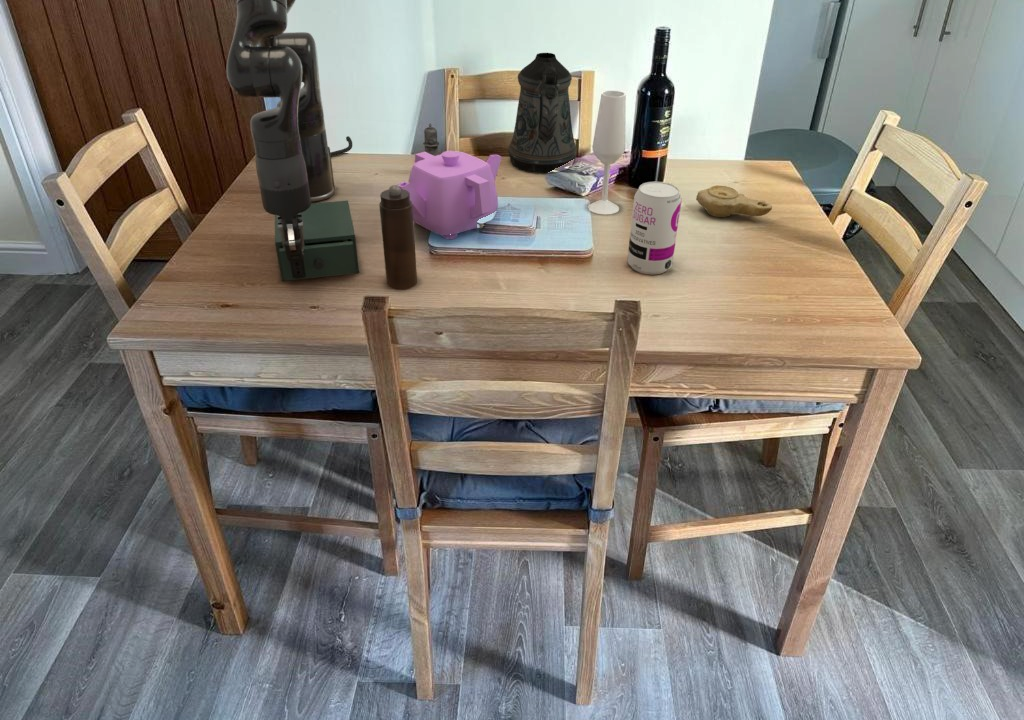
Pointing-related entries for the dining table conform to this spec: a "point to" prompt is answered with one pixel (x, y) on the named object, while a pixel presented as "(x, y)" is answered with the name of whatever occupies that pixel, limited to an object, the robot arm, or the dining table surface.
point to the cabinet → (323, 226)
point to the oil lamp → (730, 202)
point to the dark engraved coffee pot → (543, 117)
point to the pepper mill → (398, 238)
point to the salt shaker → (431, 140)
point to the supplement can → (654, 227)
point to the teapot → (452, 191)
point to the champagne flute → (609, 142)
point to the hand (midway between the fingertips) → (299, 276)
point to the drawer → (323, 259)
